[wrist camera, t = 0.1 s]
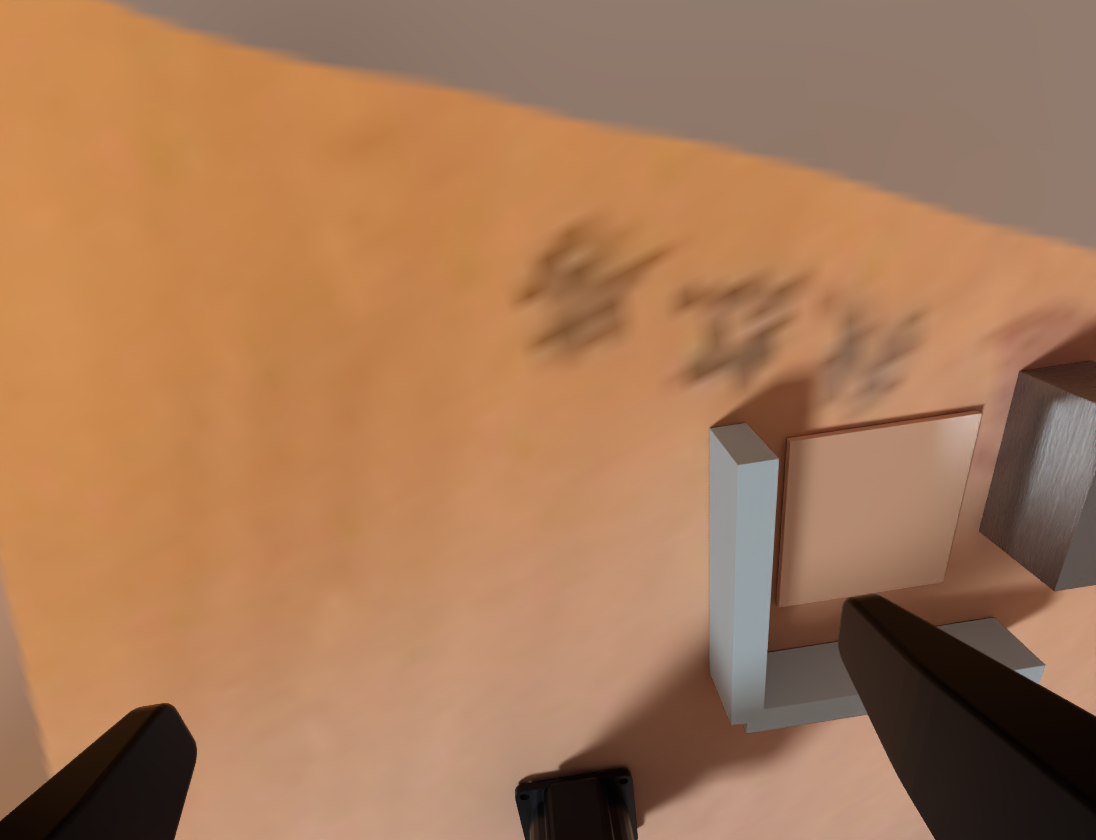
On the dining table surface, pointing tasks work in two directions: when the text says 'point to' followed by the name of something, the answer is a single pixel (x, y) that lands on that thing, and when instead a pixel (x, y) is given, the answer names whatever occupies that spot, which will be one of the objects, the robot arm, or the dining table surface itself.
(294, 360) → the dining table surface
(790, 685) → the corner wall
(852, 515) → the tile
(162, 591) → the dining table surface
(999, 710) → the robot arm
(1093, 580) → the bracket
